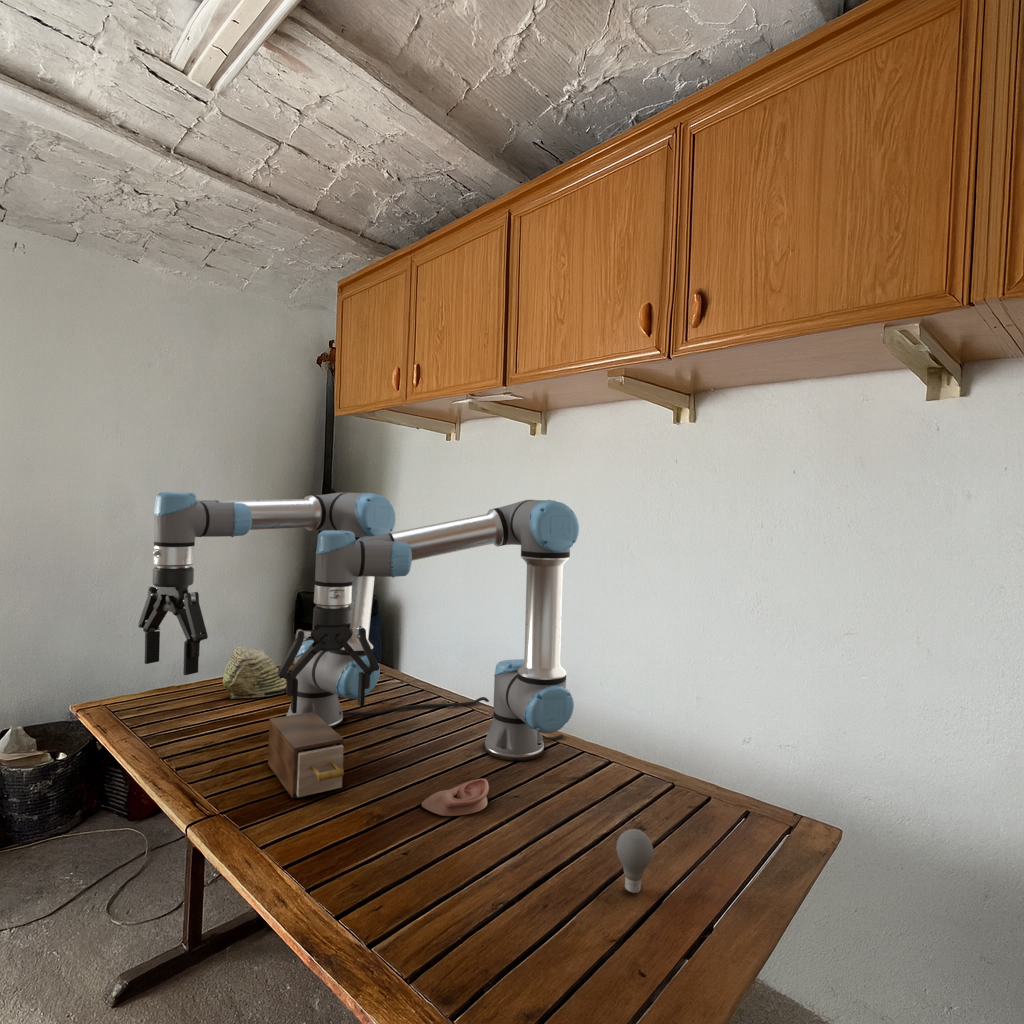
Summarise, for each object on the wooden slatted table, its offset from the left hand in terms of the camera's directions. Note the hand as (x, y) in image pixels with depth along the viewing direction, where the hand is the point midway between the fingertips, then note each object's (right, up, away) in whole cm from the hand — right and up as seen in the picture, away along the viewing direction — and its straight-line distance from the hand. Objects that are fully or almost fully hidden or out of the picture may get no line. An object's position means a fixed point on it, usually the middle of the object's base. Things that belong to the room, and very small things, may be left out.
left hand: (170, 668), depth 132 cm
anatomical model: (+59, -29, +1) cm, 66 cm away
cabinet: (+24, -27, +12) cm, 38 cm away
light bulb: (+91, -31, -26) cm, 100 cm away
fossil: (-10, -25, +66) cm, 71 cm away
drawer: (+27, -27, +7) cm, 39 cm away
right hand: (+33, -8, -1) cm, 34 cm away
